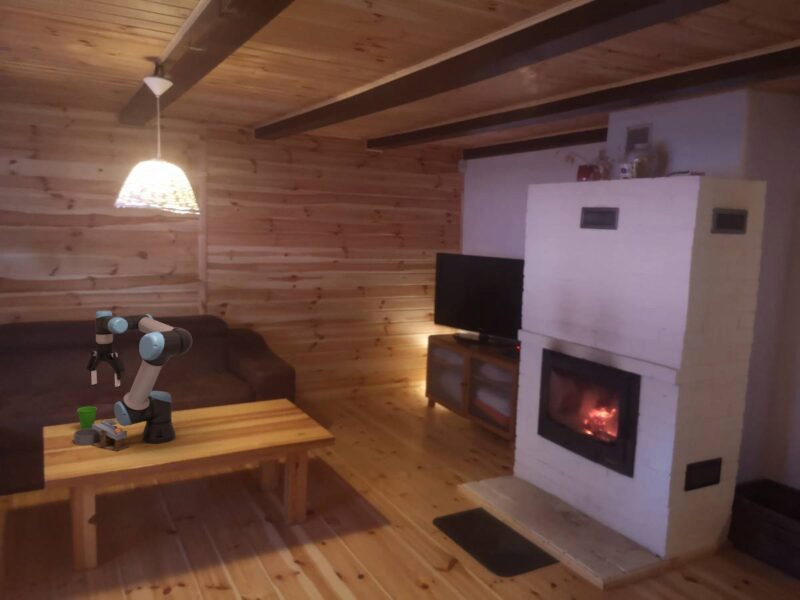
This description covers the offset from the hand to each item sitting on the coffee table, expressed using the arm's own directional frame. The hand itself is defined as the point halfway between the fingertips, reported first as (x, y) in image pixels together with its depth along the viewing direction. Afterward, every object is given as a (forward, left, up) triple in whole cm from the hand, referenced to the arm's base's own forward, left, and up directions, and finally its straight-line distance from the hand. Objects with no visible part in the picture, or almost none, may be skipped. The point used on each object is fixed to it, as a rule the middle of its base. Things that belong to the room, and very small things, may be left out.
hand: (105, 385), depth 310 cm
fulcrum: (-15, +13, -24) cm, 31 cm away
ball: (-21, +13, -16) cm, 30 cm away
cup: (+11, +2, -25) cm, 27 cm away
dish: (-2, +13, -24) cm, 28 cm away
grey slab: (-15, +10, -18) cm, 25 cm away
